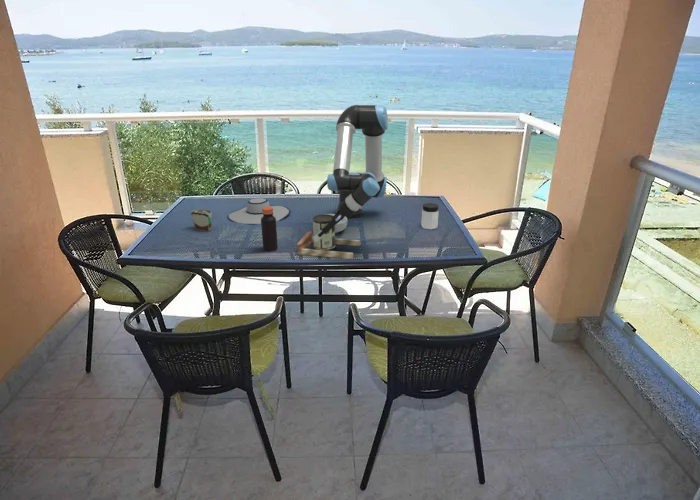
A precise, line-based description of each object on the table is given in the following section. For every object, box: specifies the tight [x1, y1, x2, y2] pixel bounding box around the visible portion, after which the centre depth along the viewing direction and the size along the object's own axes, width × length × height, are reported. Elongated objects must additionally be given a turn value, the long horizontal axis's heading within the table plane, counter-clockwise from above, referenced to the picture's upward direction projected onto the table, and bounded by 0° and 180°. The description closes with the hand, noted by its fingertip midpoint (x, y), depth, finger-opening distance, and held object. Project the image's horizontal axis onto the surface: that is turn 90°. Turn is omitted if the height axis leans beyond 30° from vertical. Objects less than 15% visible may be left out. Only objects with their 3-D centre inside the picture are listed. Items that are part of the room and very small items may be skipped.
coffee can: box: [312, 213, 336, 251], centre depth 208 cm, size 10×10×14 cm
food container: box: [190, 208, 213, 233], centre depth 236 cm, size 12×6×10 cm, turn 65°
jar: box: [420, 202, 439, 230], centre depth 237 cm, size 9×8×12 cm
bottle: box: [261, 207, 279, 252], centre depth 209 cm, size 7×7×20 cm
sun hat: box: [227, 197, 292, 226], centre depth 258 cm, size 36×36×9 cm
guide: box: [296, 230, 361, 260], centre depth 210 cm, size 26×17×5 cm, turn 78°
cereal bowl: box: [326, 213, 348, 234], centre depth 232 cm, size 17×17×7 cm
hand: (317, 235), depth 210 cm, fingers closed on coffee can, 10 cm apart
